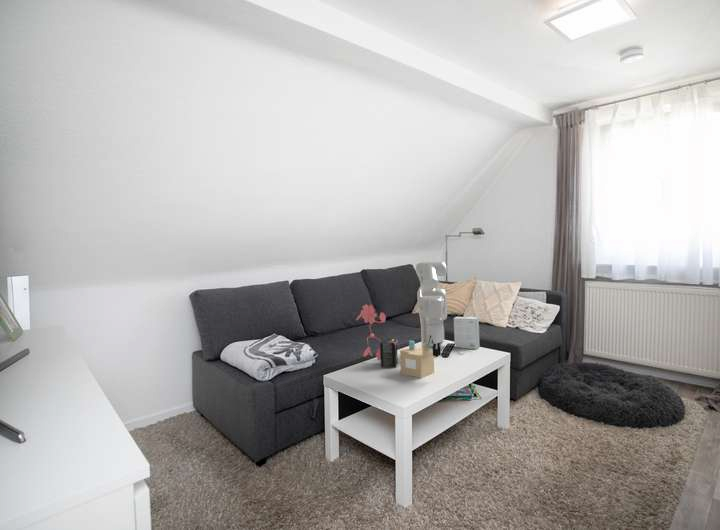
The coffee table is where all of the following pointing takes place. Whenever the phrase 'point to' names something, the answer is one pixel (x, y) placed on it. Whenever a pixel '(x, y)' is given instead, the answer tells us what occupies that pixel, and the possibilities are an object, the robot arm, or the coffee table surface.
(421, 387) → the coffee table surface
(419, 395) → the coffee table surface
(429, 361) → the carton
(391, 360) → the tampon box
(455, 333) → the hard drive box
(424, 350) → the flap
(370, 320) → the figurine
